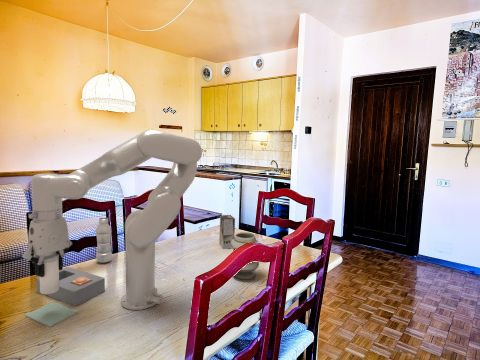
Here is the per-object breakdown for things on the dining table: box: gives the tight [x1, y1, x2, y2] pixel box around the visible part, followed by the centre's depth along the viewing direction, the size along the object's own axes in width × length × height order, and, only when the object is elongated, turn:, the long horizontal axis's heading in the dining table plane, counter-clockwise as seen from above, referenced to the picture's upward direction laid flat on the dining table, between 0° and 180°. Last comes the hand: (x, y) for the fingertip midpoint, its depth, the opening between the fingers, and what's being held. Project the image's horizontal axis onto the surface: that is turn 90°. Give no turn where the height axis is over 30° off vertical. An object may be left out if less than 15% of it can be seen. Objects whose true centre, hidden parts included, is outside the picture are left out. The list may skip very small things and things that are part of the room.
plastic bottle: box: [95, 217, 113, 264], centre depth 137 cm, size 6×7×20 cm
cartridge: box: [39, 252, 59, 295], centre depth 95 cm, size 5×5×11 cm
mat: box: [24, 301, 79, 328], centre depth 96 cm, size 12×9×1 cm
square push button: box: [72, 277, 91, 286], centre depth 108 cm, size 4×4×6 cm
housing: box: [35, 266, 106, 307], centre depth 111 cm, size 20×12×5 cm, turn 65°
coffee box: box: [218, 214, 236, 250], centre depth 165 cm, size 9×6×16 cm
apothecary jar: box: [231, 231, 260, 282], centre depth 128 cm, size 12×12×18 cm
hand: (49, 271), depth 95 cm, fingers closed on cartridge, 5 cm apart
